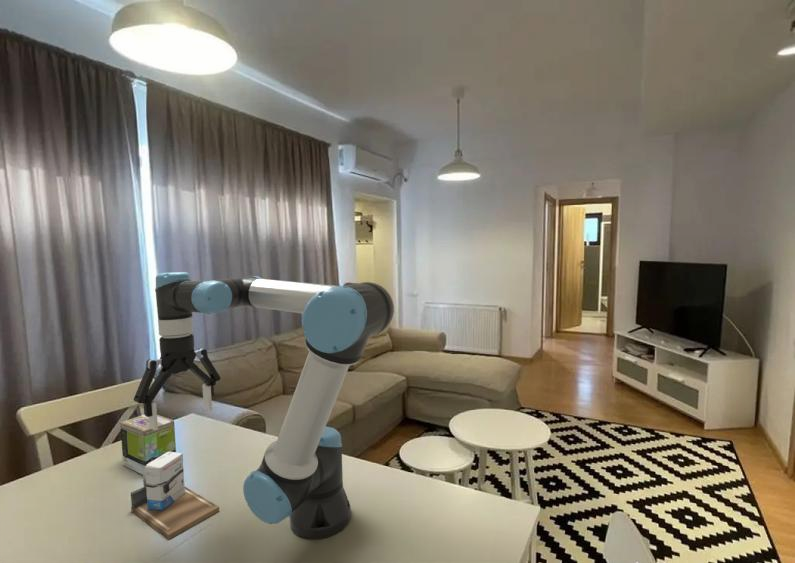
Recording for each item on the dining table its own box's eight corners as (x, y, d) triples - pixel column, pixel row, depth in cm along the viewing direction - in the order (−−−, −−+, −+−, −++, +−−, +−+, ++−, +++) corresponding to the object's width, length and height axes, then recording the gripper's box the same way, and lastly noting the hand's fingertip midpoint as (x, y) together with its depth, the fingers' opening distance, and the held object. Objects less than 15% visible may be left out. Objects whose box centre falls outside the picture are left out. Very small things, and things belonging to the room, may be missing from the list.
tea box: (178, 463, 136) (175, 419, 134) (146, 478, 127) (142, 431, 126) (153, 452, 144) (150, 410, 142) (122, 465, 135) (118, 421, 134)
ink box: (162, 511, 108) (159, 467, 107) (146, 509, 109) (143, 466, 109) (186, 492, 117) (183, 452, 116) (170, 490, 118) (168, 450, 117)
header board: (219, 511, 110) (217, 477, 109) (168, 539, 99) (166, 502, 99) (180, 487, 121) (178, 457, 121) (131, 511, 111) (128, 477, 110)
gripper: (215, 325, 115) (219, 400, 117) (112, 343, 95) (120, 433, 96) (231, 327, 111) (235, 405, 112) (127, 347, 90) (134, 441, 92)
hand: (182, 418), depth 104 cm, fingers open, 13 cm apart
